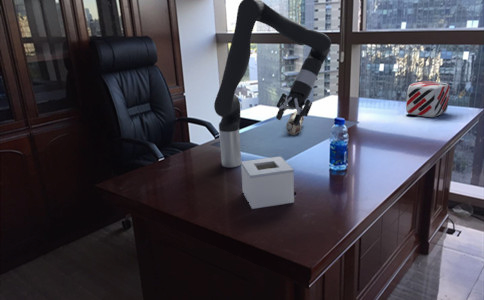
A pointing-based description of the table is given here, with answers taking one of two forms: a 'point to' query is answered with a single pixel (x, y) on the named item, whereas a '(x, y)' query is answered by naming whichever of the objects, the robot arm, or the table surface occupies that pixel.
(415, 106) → the decorative cube
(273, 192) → the box
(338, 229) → the table surface
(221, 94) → the robot arm
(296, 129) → the pencil case
